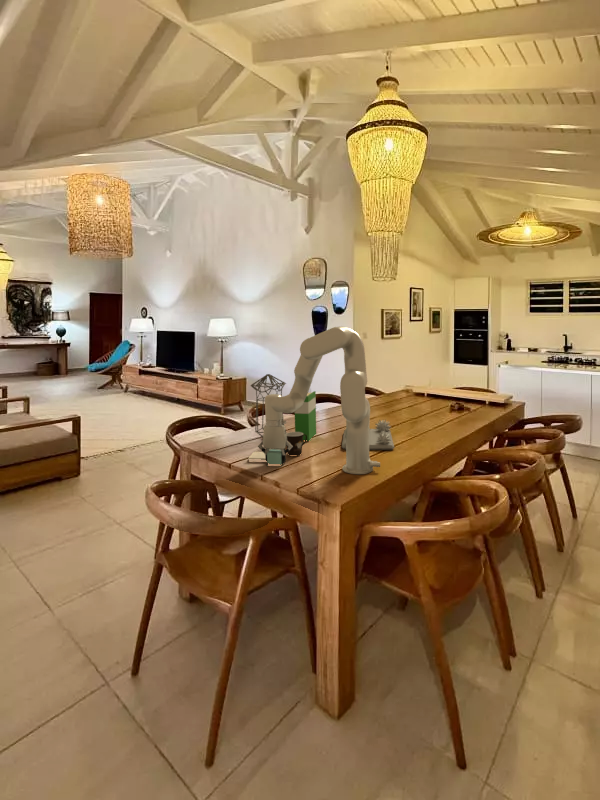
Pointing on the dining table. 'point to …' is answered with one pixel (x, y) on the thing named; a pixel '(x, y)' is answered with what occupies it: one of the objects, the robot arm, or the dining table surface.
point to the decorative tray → (377, 437)
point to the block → (274, 456)
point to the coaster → (257, 456)
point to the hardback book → (306, 417)
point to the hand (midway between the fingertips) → (275, 462)
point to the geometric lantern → (267, 394)
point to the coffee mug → (295, 442)
